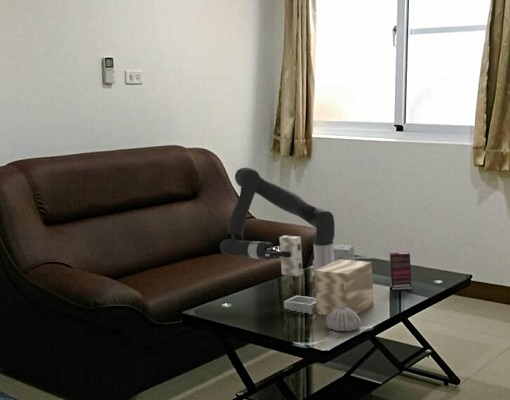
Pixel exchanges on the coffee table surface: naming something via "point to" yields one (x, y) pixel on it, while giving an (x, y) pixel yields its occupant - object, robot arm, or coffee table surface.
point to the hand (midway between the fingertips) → (293, 253)
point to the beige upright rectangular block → (295, 261)
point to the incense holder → (344, 252)
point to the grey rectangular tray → (301, 304)
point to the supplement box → (400, 270)
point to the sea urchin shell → (343, 319)
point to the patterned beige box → (343, 286)
